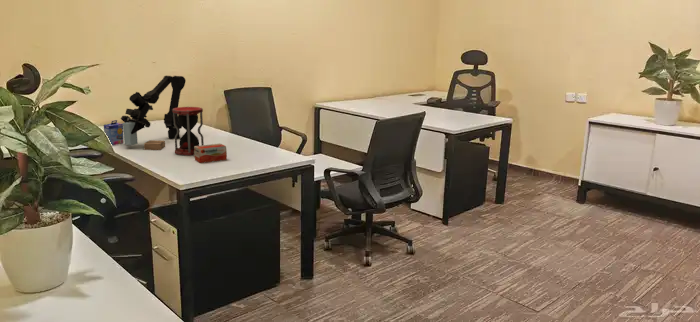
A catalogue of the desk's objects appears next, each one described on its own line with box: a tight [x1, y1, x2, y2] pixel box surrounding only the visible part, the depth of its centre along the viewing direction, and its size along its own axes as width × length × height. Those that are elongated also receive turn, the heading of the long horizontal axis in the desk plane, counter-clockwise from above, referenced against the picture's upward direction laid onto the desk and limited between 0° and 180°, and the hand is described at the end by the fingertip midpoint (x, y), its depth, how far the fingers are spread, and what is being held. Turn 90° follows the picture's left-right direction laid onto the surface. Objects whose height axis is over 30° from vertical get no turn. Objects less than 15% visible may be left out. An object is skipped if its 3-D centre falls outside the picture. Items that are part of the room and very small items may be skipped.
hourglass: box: [172, 106, 205, 157], centre depth 307 cm, size 16×16×25 cm
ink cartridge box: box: [103, 119, 125, 146], centre depth 324 cm, size 10×6×14 cm, turn 152°
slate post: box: [122, 122, 139, 146], centre depth 316 cm, size 5×5×12 cm
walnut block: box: [143, 139, 166, 151], centre depth 318 cm, size 9×9×4 cm
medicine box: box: [193, 143, 228, 164], centre depth 293 cm, size 15×8×8 cm, turn 126°
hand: (128, 133), depth 314 cm, fingers closed on slate post, 5 cm apart
